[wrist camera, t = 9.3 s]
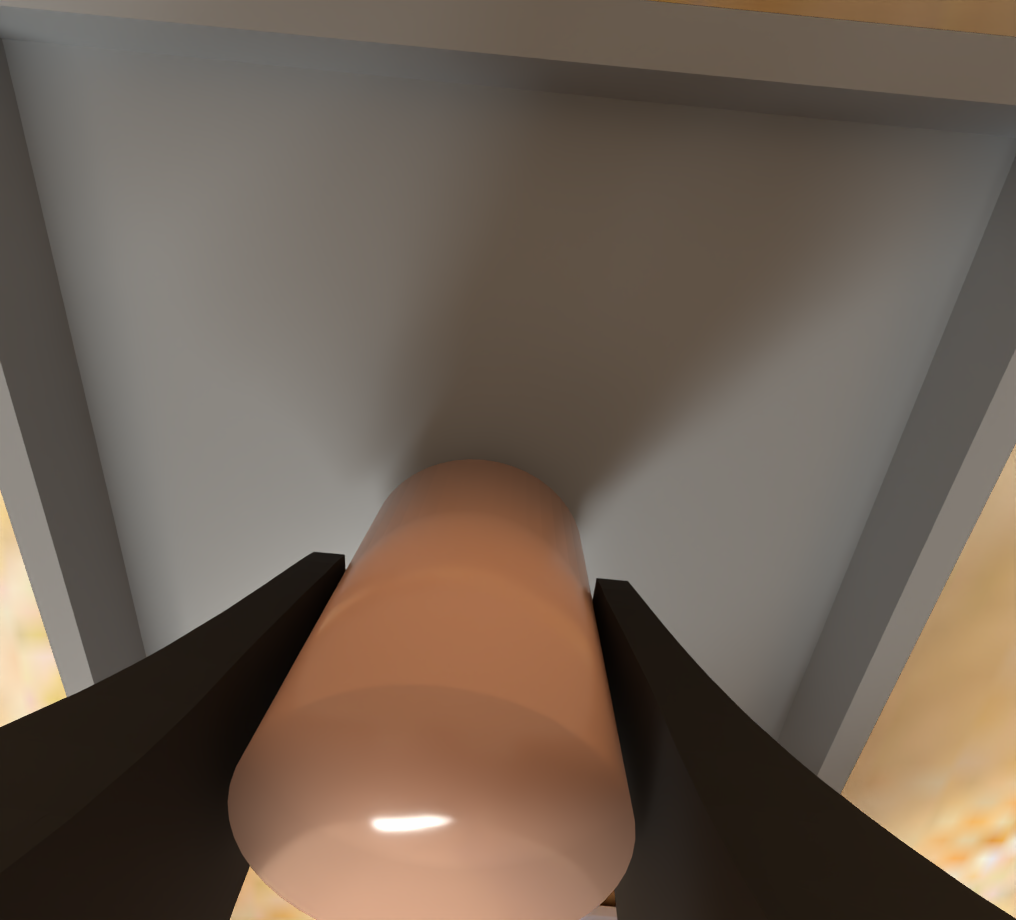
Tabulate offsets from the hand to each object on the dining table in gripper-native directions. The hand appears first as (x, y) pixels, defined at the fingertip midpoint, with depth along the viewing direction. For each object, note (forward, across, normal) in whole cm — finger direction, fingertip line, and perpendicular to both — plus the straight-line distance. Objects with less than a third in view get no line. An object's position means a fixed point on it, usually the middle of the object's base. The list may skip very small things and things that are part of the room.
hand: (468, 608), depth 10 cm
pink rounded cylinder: (+2, 0, 0) cm, 2 cm away
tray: (+4, 0, 0) cm, 4 cm away
